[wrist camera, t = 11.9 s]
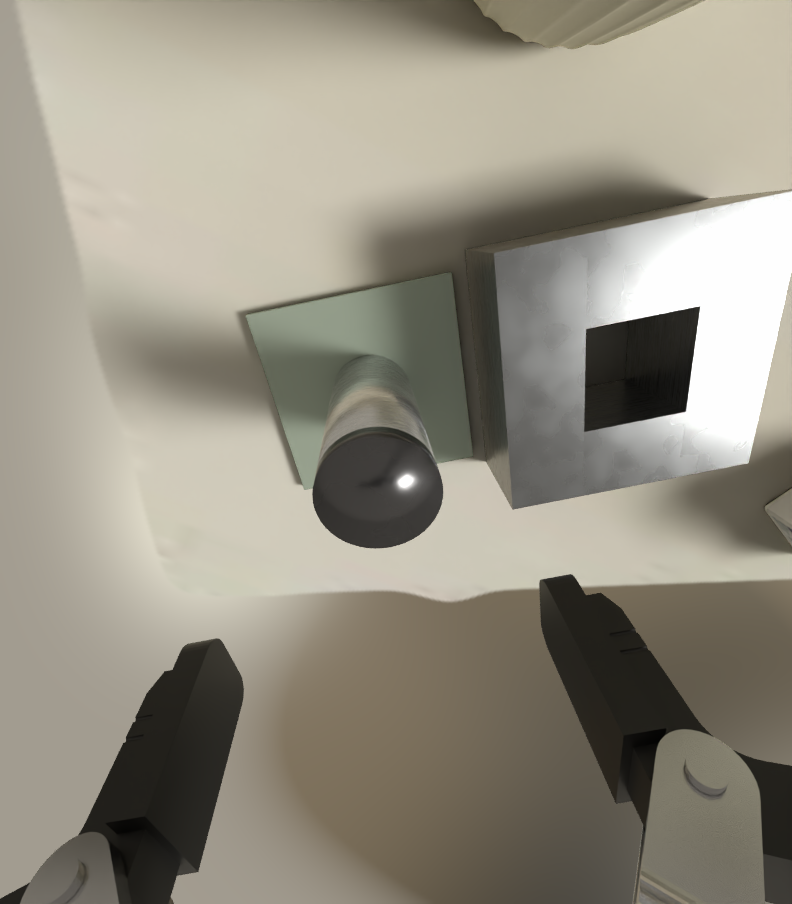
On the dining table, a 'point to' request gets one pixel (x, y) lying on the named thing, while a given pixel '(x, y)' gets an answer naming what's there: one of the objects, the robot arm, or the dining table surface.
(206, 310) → the dining table surface
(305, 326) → the mat
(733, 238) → the housing
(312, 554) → the dining table surface
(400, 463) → the silver metal cylinder
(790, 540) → the container
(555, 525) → the dining table surface
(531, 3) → the canister
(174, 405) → the dining table surface
